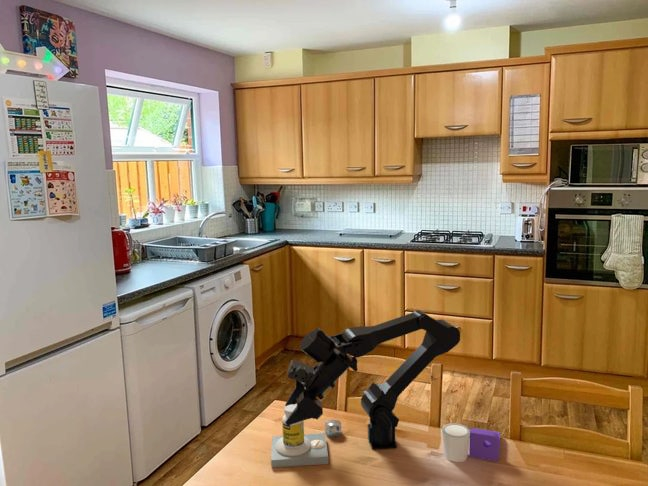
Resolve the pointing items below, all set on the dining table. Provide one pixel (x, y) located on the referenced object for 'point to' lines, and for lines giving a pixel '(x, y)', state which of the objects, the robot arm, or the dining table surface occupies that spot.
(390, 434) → the robot arm
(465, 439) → the white short tapered cylinder
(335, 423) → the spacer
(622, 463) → the dining table surface
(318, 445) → the scale
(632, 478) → the dining table surface
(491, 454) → the purple box with knob
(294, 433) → the supplement bottle
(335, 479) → the dining table surface
